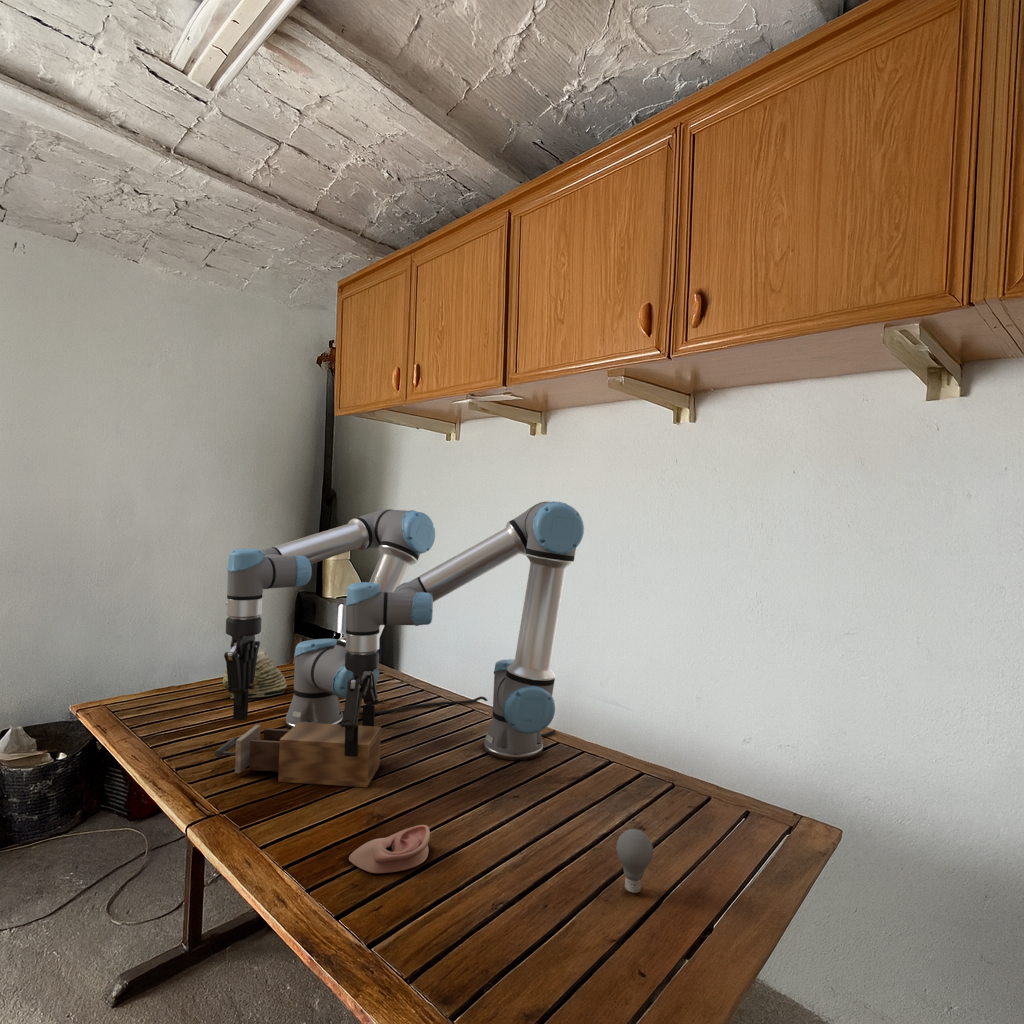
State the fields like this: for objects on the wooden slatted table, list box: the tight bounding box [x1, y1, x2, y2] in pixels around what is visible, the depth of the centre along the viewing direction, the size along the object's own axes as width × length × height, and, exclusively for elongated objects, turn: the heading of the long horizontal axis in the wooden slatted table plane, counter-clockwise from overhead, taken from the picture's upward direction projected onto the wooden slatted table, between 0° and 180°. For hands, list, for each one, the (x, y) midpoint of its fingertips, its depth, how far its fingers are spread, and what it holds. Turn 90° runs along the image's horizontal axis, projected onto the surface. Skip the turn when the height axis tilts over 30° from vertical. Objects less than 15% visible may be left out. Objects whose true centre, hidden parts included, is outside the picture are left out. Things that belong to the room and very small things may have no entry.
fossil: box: [222, 647, 288, 699], centre depth 198 cm, size 9×18×15 cm, turn 132°
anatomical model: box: [348, 824, 431, 874], centre depth 113 cm, size 13×4×12 cm
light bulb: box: [615, 828, 654, 894], centre depth 106 cm, size 6×6×10 cm
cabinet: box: [277, 722, 382, 788], centre depth 145 cm, size 20×11×10 cm, turn 87°
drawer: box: [214, 724, 291, 774], centre depth 145 cm, size 24×10×7 cm, turn 87°
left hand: (240, 718), depth 146 cm, fingers closed
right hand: (360, 743), depth 144 cm, fingers open, 13 cm apart
